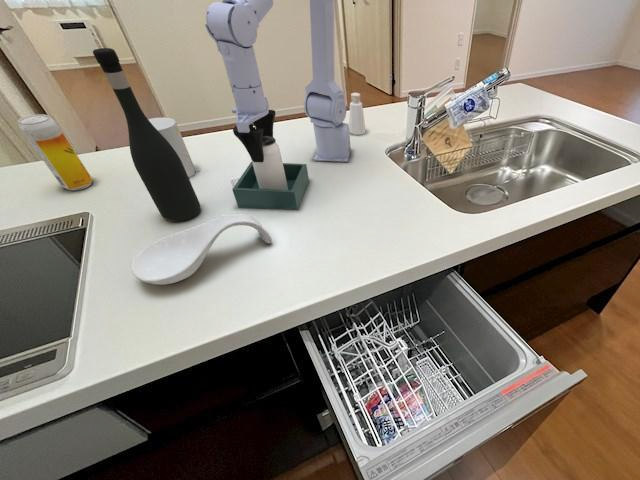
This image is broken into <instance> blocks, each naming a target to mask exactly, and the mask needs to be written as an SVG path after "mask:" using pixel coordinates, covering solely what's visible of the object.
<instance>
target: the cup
mask: <svg viewBox="0 0 640 480" xmlns="http://www.w3.org/2000/svg"><path fill="white" fill-rule="evenodd" d="M147 119H148V120H149V121H150V122H151V124H152V125H153V126H154V127H155V128H156V129H157V130H158V131H159V132H160V133H161V134H162V136H163V137H164V138H165V139H166V140H167V141H168V142H169V143H170V145H171V146H172V147H173V149H174V150H175V151H176V153H177V154H178V156H179V158H180V159H181V161H182V164H183V166H184V168H185V171H186V173H187V175H188V178H189V179H190V178H191V177H193V176H194V175H195V174H196V171H197V170H196V168H195V165H194V163H193V160H192V158H191V155H190V153H189V151H188V148H187V146H186V142H185V141H184V138H183V136H182V134H181V131H180V130H179V126H178V124H177V122H176V120H175V119H174V118H172V117H163V116H162V117H153V118H147Z"/></svg>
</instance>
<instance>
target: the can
mask: <svg viewBox="0 0 640 480" xmlns="http://www.w3.org/2000/svg"><path fill="white" fill-rule="evenodd" d="M262 147H263V154H264V161H263V162H253V160H252V159H251V158H250V160H251V162H252V164H253V167H254V171H255V175H256V178H257V182H258V185H259V189H273V190H288V186H287V181H286V176H285V171H284V167H283V163H284V162H283V159H282V154H281V153H282V152H281V149H280V146H279V143H277V141H276V138H275V137H274V136H273V137H270V136H263V137H262Z"/></svg>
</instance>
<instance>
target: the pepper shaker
mask: <svg viewBox="0 0 640 480" xmlns="http://www.w3.org/2000/svg"><path fill="white" fill-rule="evenodd" d="M350 99H351V102H350V103H349V117H348V119H349V122H348V125H349V133H350V135H355V136H360V135H361V136H362V135H365V133H366V131H367V130H366V123H365V116H364V107H363V103H362V102H361V93H359V92H351V94H350Z"/></svg>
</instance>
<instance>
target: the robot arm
mask: <svg viewBox="0 0 640 480" xmlns="http://www.w3.org/2000/svg"><path fill="white" fill-rule="evenodd" d="M273 6H274V0H222V1H221V2H220V1H214V2H212V3H211V4H210V5H209V6H208V8H207V10H206V14H205V20H206V23H205V25H204V26H205V29H206V31H207V33H208V35H209V37H211V39H212V40H213V41H214V42H215V45H216V48H217V51H218V52H219V53H220V55H221V58H222V61H223V64H224V67H225V71H226V75H227V78H228V82H229V86H230V89H231V93H232V96H233V99H234V103H235V106H233V107H232V108H231V113H232V114H236V120H235V126H234V127H233V128H232V132H233V135H234V136H235V138H237V139H238V140H239V141H240V143H241V144H242V145H243V146H244V148H245V149H246V152H247V153H248V155H249V157H250V160H251V159H252V160H253V162H263V161H264V154H263V147H262V137H263V136H270V137H273V138H274V124H275V123H274V122H275V118H276V110H274V109H269V107H270V106H269V101H268V97H265V93H264V88H263V85H262V81H261V75H260V72H259V67H258V66H259V65H258V62H257V57H256V54H255V49H254V44H255V43H256V42H257V38H258V28H259V27H260V23H261V22H262V20H263V19H264V18H265V17H266V16H267V14H268V13H269V12H270V10H271V9H273ZM309 16H310V42H311V44H310V45H311V65H312V66H311V67H312V68H311V69H312V80H311V81H310V82H309V83H308V84H307V85H306V86H305V95H304V101H303V109H304V112H305V115H306V116H307V117H308V118H309V119H310V122H311V124H313V132H314V139H315V145H316V152H315V155H314V157H313V160H314V161H320V162H343V163H347V162H349V159H350V155H351V151H352V147H351V136H350V135H351V133H350V132H349V123H347V122H344V121H345V119H346V116H347V105H346V99H345V92H344V90H343V89H342V88H341V87H340V85H338V83H336V81H335V77H336V76H335V0H309ZM252 160H251V161H252Z"/></svg>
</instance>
